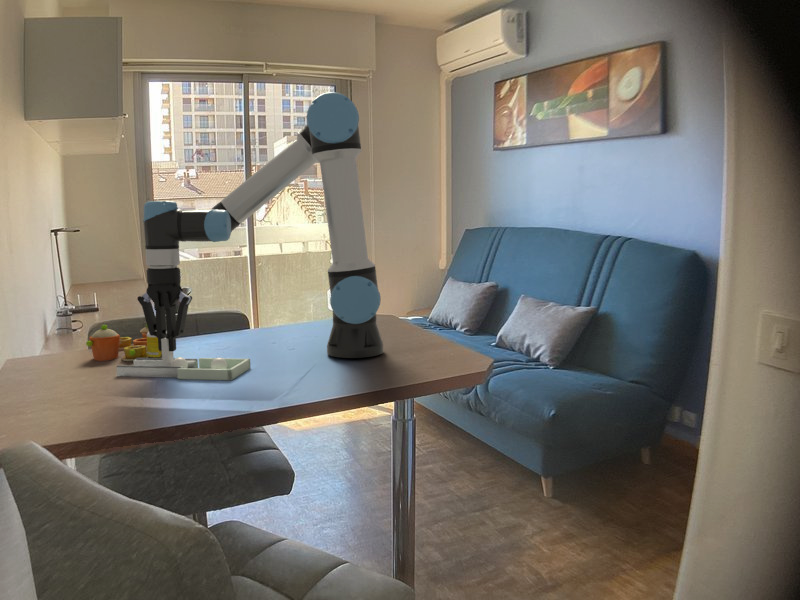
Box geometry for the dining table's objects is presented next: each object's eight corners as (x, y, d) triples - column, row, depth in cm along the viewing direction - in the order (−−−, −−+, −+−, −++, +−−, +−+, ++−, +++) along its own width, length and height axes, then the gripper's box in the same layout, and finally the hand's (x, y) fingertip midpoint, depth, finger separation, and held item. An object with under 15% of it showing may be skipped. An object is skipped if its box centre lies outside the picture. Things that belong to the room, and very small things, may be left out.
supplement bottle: (162, 362, 165) (160, 325, 164) (143, 361, 166) (141, 324, 165) (173, 357, 170) (171, 321, 169) (155, 357, 171) (153, 321, 170)
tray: (250, 368, 156) (250, 358, 156) (231, 380, 145) (230, 370, 144) (200, 367, 158) (200, 357, 158) (177, 379, 146) (177, 369, 146)
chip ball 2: (226, 373, 153) (231, 359, 152) (220, 377, 149) (225, 363, 149) (212, 367, 153) (217, 353, 153) (205, 371, 149) (211, 356, 149)
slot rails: (198, 368, 157) (197, 358, 156) (180, 377, 148) (180, 367, 148) (137, 367, 159) (137, 357, 159) (117, 376, 150) (116, 365, 150)
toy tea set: (145, 363, 165) (143, 327, 164) (83, 365, 163) (80, 328, 162) (171, 344, 191) (169, 312, 190) (117, 346, 189) (115, 314, 188)
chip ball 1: (191, 370, 154) (189, 355, 154) (184, 374, 150) (182, 358, 150) (176, 371, 155) (174, 356, 154) (169, 375, 151) (167, 359, 150)
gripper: (196, 265, 153) (200, 361, 156) (145, 265, 154) (150, 360, 157) (181, 268, 145) (186, 368, 148) (128, 267, 147) (134, 367, 150)
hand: (168, 364), depth 153 cm, fingers closed
